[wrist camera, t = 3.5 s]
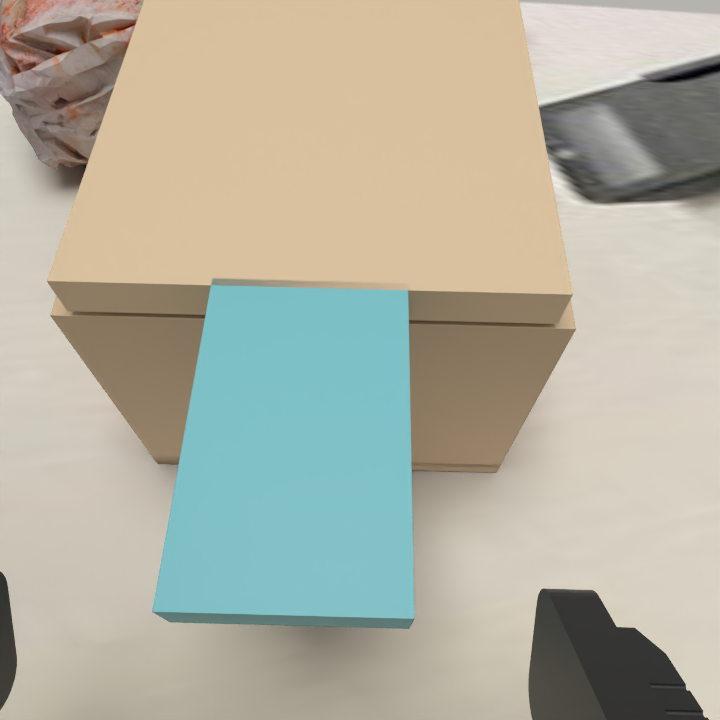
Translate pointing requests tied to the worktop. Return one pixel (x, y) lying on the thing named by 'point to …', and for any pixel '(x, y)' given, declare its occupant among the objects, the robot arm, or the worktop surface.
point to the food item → (63, 70)
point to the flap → (311, 270)
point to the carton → (427, 379)
